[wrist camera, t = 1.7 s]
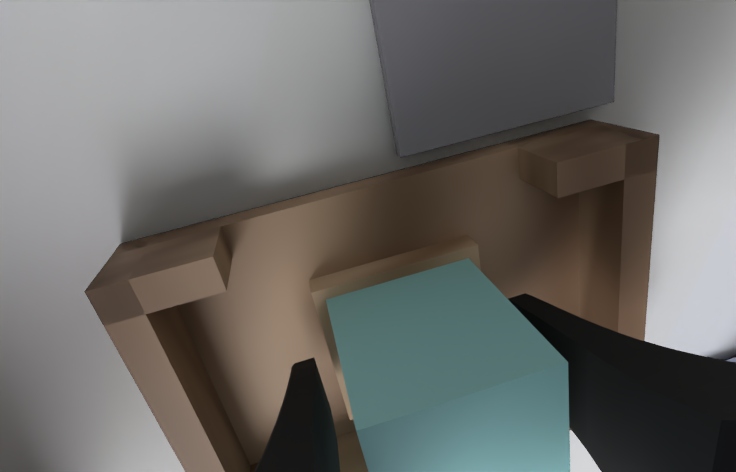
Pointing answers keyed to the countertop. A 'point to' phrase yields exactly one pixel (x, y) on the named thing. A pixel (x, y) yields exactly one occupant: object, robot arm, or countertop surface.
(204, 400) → the parts box
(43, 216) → the countertop surface
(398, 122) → the rubber mat
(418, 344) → the teal block
